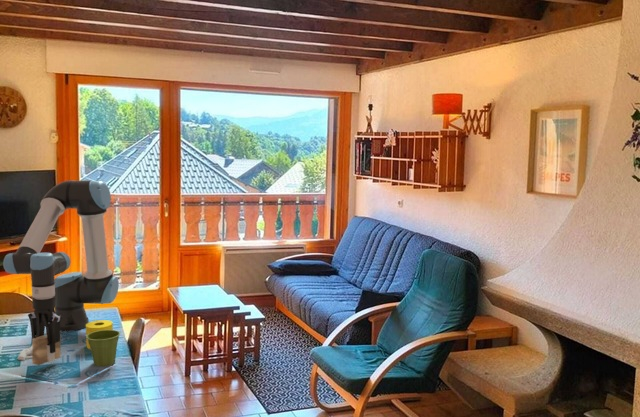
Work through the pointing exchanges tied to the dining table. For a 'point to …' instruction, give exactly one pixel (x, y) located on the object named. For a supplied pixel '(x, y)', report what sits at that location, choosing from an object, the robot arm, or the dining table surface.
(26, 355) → the light grey toy spaceship
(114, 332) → the plant pot
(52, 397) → the dining table surface
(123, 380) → the dining table surface
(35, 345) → the rectangular block
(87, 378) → the dining table surface
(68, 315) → the robot arm
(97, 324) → the yellow paper roll
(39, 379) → the mat
